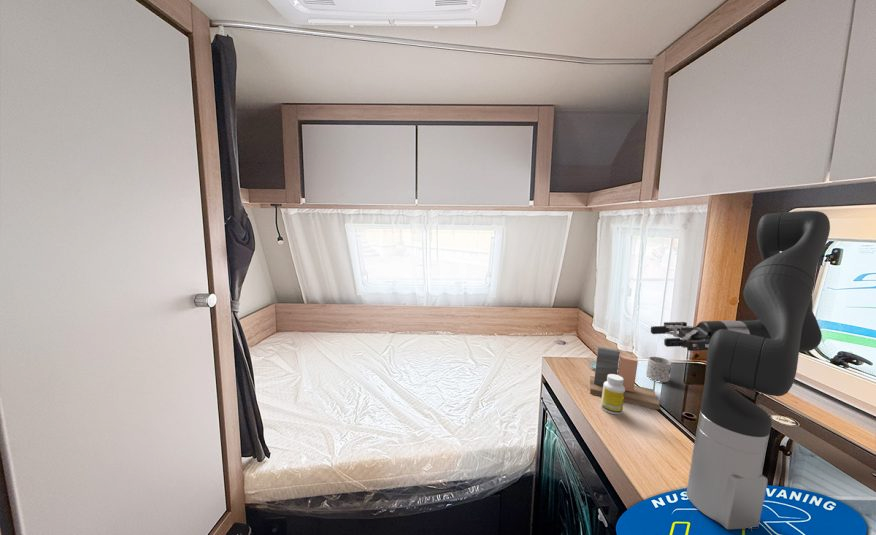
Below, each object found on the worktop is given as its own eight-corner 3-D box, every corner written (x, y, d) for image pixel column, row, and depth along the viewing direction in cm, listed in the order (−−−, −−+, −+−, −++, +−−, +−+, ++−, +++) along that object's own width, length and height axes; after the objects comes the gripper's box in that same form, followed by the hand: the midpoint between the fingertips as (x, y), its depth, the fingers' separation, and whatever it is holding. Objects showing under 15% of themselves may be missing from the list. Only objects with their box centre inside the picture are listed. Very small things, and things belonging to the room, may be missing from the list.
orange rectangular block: (633, 392, 97) (637, 361, 96) (616, 388, 99) (620, 357, 98) (632, 389, 99) (636, 358, 98) (615, 385, 101) (619, 355, 100)
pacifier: (599, 366, 120) (587, 367, 118) (602, 350, 119) (589, 351, 118) (615, 375, 113) (602, 376, 112) (618, 358, 113) (604, 359, 111)
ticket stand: (659, 409, 91) (665, 365, 90) (590, 393, 99) (595, 351, 97) (652, 394, 100) (658, 353, 99) (589, 380, 108) (594, 341, 106)
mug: (673, 384, 108) (675, 365, 107) (651, 381, 109) (654, 363, 108) (657, 371, 118) (660, 354, 117) (638, 369, 119) (640, 352, 118)
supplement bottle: (625, 416, 87) (629, 382, 86) (603, 413, 88) (607, 380, 87) (618, 405, 93) (622, 374, 91) (598, 403, 94) (602, 371, 92)
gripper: (707, 312, 95) (647, 315, 99) (741, 332, 82) (670, 334, 85) (706, 336, 97) (646, 337, 100) (739, 358, 83) (669, 359, 87)
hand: (657, 336), depth 93 cm, fingers open, 8 cm apart
